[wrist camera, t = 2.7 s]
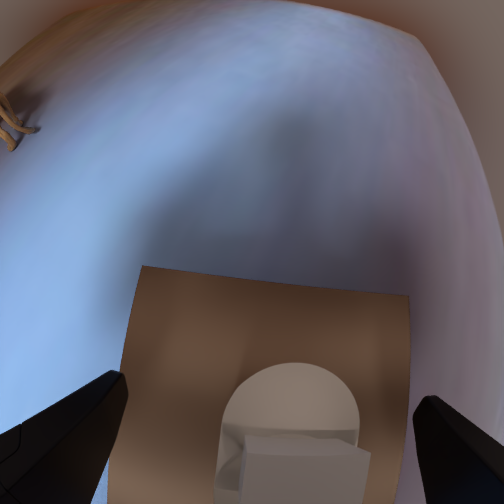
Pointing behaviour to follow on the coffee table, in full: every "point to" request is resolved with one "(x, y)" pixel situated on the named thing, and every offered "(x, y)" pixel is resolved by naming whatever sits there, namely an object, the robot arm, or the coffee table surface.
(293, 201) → the coffee table surface
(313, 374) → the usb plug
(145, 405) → the walnut dock
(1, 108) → the lion figurine
